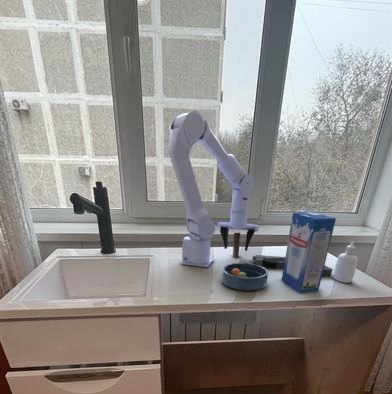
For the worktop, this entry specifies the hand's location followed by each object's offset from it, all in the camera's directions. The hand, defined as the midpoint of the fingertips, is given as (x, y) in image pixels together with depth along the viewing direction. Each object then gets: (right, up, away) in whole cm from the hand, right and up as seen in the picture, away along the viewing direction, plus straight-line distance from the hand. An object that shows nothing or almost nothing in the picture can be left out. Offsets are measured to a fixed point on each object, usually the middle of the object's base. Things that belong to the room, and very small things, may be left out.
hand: (235, 249), depth 107 cm
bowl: (-1, -15, -21) cm, 26 cm away
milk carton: (+16, -16, -22) cm, 31 cm away
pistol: (+17, -9, -8) cm, 21 cm away
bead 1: (-3, -12, -20) cm, 23 cm away
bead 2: (-1, -14, -23) cm, 26 cm away
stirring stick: (0, -2, +3) cm, 3 cm away
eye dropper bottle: (+31, -14, -17) cm, 38 cm away
